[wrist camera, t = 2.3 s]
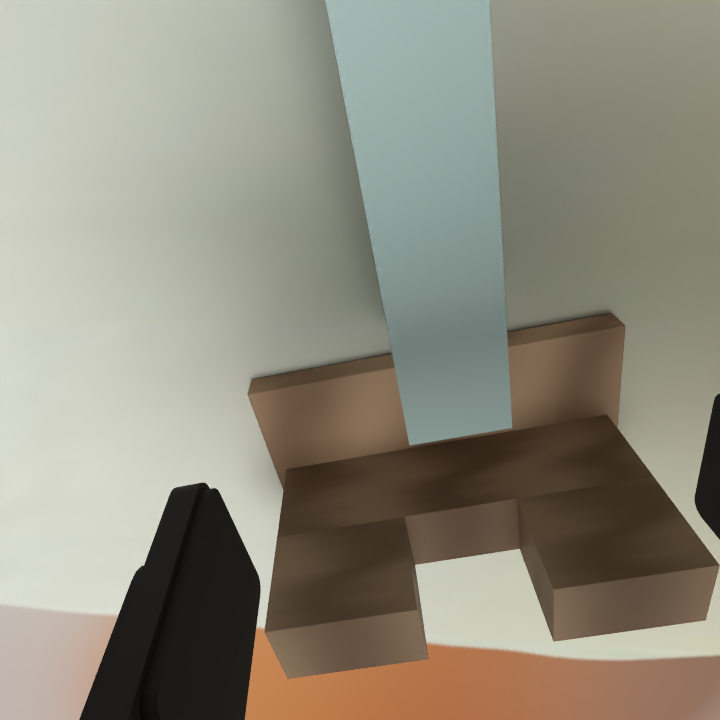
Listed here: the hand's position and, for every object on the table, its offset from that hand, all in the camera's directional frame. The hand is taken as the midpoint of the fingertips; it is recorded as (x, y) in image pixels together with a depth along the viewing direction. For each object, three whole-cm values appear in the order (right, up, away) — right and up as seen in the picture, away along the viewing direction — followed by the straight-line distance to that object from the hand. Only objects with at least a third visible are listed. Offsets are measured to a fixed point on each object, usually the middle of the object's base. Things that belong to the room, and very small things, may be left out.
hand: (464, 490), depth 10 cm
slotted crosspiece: (-1, +10, +8) cm, 13 cm away
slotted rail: (+2, -2, +16) cm, 16 cm away
